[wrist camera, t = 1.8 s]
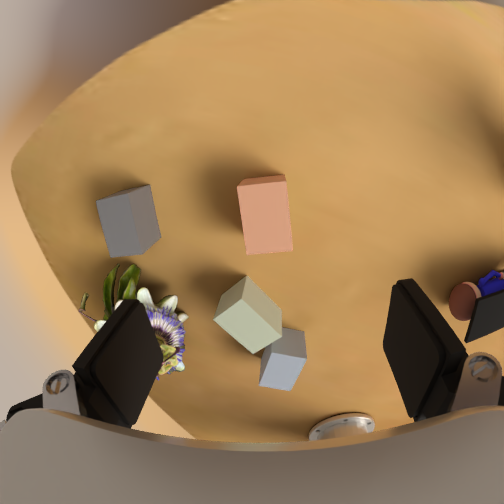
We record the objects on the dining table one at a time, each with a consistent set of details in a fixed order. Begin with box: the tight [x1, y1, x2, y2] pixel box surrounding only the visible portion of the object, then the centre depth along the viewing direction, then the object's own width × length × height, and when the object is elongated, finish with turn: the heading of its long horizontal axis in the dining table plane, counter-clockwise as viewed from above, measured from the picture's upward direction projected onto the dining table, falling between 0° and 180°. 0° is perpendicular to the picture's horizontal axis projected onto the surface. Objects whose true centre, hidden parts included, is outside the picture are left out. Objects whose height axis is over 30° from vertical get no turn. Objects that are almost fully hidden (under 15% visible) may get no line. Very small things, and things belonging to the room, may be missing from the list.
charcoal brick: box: [96, 185, 161, 258], centre depth 26 cm, size 6×4×5 cm, turn 7°
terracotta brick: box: [237, 175, 293, 255], centre depth 25 cm, size 6×4×5 cm, turn 7°
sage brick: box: [213, 276, 282, 354], centre depth 29 cm, size 6×4×5 cm, turn 42°
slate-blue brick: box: [259, 327, 307, 391], centre depth 32 cm, size 6×4×5 cm, turn 167°
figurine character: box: [449, 270, 504, 343], centre depth 25 cm, size 7×8×15 cm
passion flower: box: [79, 264, 189, 380], centre depth 30 cm, size 13×12×14 cm
